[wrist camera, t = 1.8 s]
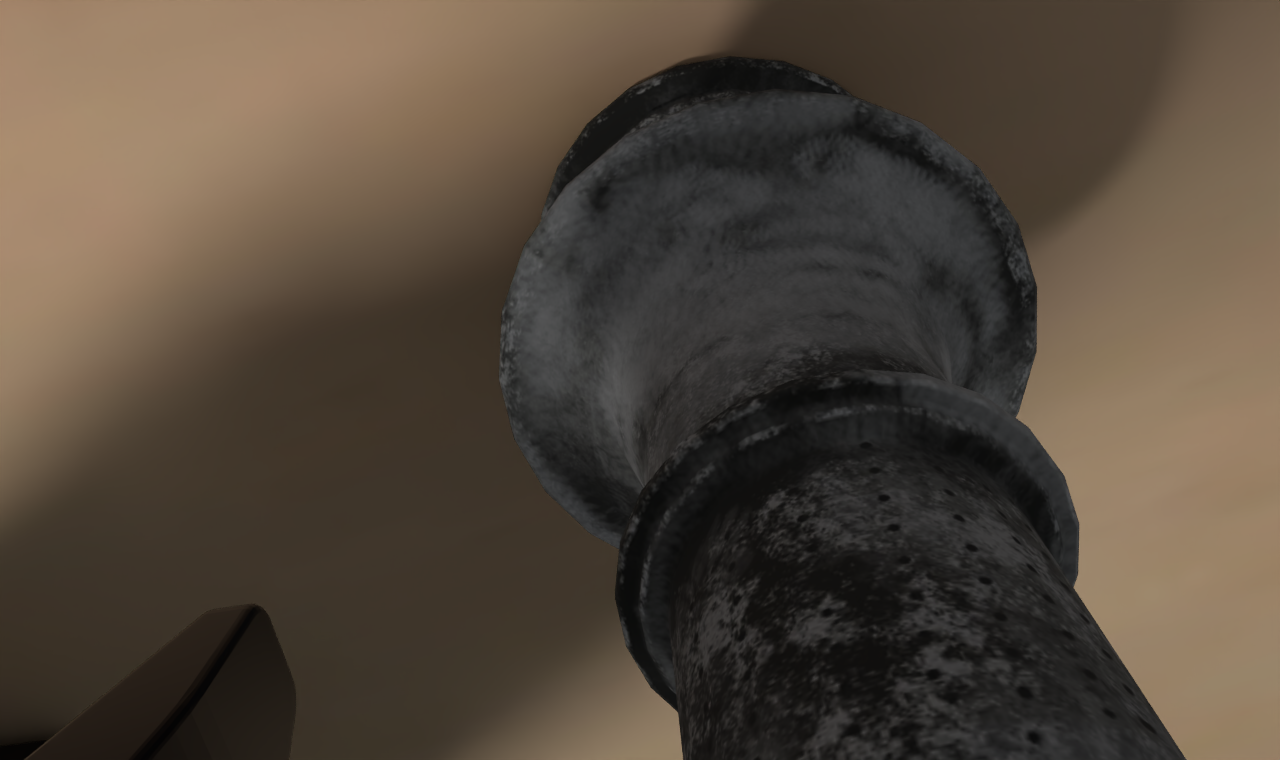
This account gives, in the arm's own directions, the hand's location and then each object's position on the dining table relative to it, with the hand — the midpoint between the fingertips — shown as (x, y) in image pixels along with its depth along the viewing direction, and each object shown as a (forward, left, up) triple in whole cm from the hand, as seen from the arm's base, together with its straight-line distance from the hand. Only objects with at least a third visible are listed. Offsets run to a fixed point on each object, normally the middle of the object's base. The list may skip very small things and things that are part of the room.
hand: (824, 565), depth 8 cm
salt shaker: (0, 0, -7) cm, 7 cm away
